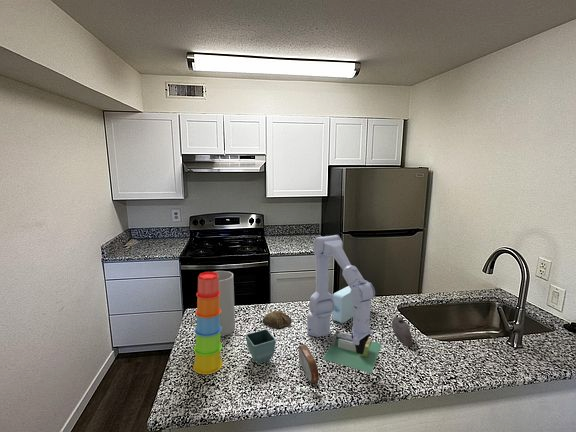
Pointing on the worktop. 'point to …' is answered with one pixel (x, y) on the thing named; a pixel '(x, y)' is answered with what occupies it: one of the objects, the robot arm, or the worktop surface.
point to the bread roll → (277, 319)
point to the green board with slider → (351, 354)
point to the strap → (345, 337)
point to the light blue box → (342, 305)
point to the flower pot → (261, 345)
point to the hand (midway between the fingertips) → (360, 352)
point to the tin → (308, 363)
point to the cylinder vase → (226, 302)
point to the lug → (366, 349)
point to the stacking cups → (208, 325)
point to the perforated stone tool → (402, 331)
